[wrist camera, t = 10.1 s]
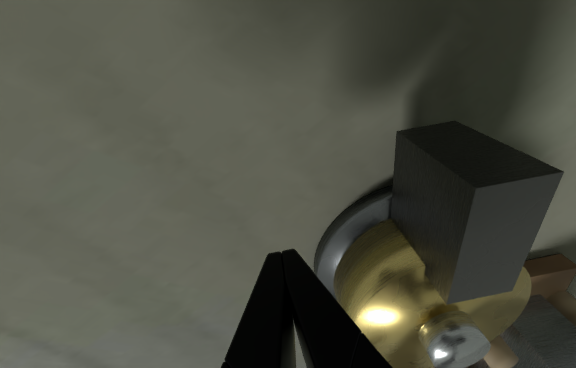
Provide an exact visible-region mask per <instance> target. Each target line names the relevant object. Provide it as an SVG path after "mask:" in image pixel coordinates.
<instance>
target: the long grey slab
mask: <svg viewBox="0 0 576 368" xmlns="http://www.w3.org/2000/svg"><path fill="white" fill-rule="evenodd" d="M500 336H501V337H502V339H503V340H504V341H505V342H506V343H507V345H508V346H509V347H510V348H511V350H512V351H513V352H514V353H515V355H516V356H517V357H518V358H519V361H518V362H517V364H515V365H514V366H513V367H511V368H576V327H575V326H574V325H573V324H572V323H571V322H570V321H569V320H568V319H567V318H566V317H565V316H563V315H562V314H561V313H560V312H559V311H558V310H557V309H556V308H555V307H554V306H553V305H552V304H550V303H549V302H548V301H547V300H546V299H545V298H544V297H543V296H542V295H541V294H538V295H533V296H530V297H529V300H528V302H527V304H526V306H525V308H524V310H523V311H522V313H521V314H520V315H519V317H518V318H517V319H516V320H515V321H514V322H513V323H512V324H511V325H510V326H509V327H508V328H507V329H506V330H505V331H504V332H503V333H501V334H500ZM469 368H490V367H489V365H488V364H487V362H486V361H485V360H484V358H482V359H481V360H479V361H478V362H476V363H474V364H472V365H470V366H469Z"/></svg>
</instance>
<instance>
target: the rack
mask: <svg viewBox="0 0 576 368" xmlns="http://www.w3.org/2000/svg"><path fill="white" fill-rule="evenodd" d="M523 267H524V268H525V269H526V270H527V272H528V273H529V275H530V278H531V288H532V289H531V294H530V296H533V295H538V294H541V295H542V296H543V297H544V298H545V299H546V300H547V301H548V302H549V303H550V304H552V305H553V306H554V307H555V308H556V309H557V310H558V311H559V312H560V313H561V314H562V315H563V316H565V317H566V318H567V319H568V320H569V321H570V322H571V323H572V324H573V325H574V326H575V327H576V299H575V298H574V297H573V296H572V295H570V294H569V293H568V292H567V291H566V290H567V288H568V286H569V285H570V283H571V281H572V279H573V278H574V276H575V274H576V264H574V263H573V262H572V261H570V260H569V259H568V258H566V257H565V256H563V255H562V254H557V255H552V256H547V257H542V258H537V259H532V260H527V261H525V263H524V265H523ZM490 345H491V347H490V350H489V352H488V353H487V354H486V355H485V356H484V357H483V358H484V360H485V361H486V362H487V364H488V365H489V367H490V368H511V367H513V366H514V365H515V364H517V362H518V361H519V358H518V357H517V356H516V355H515V353H514V352H513V351H512V350H511V348H510V347H509V346H508V345H507V343H506V342H505V341H504V340H503V339H502V337H501V336H500V335H499V336H498V337H496V338H495V339H494V340H492V341H491V342H490ZM465 368H469V366H468V367H465Z"/></svg>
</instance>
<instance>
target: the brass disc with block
mask: <svg viewBox="0 0 576 368" xmlns="http://www.w3.org/2000/svg"><path fill="white" fill-rule="evenodd" d="M563 173H564V172H563V171H561V170H559V169H557V168H555V167H553V166H550V165H548V164H546V163H544V162H542V161H540V160H538V159H536V158H533V157H531V156H529V155H527V154H525V153H523V152H521V151H518V150H516V149H514V148H512V147H510V146H508V145H506V144H503V143H501V142H499V141H497V140H495V139H493V138H491V137H489V136H486V135H484V134H482V133H480V132H478V131H476V130H474V129H471V128H469V127H467V126H465V125H463V124H461V123H459V122H456V121H451V122H446V123H440V124H435V125H429V126H424V127H418V128H412V129H407V130H401V131H397V134H396V148H395V162H394V177H393V191H392V205H391V218H390V219H388V220H386V221H384V222H382V223H380V224H378V225H377V226H375V227H373V228H372V229H370V230H369V231H367V232H366V233H364V234H363V235H362V236H361V237H360V238H358V239H357V240H356V241H355V242H354V243H353V244H352V245H351V246H350V247H349V248H348V250H347V251H346V252H345V254H344V255H343V256H342V258H341V260H340V262H339V263H338V266H337V268H336V271H335V275H334V281H333V287H334V292H335V296H336V299H337V301H338V303H339V304H340V305H341V306H342V308H343V309H344V310H345V311H346V313H347V314H348V315H349V316H350V317H351V319H352V320H353V321H354V322H355V324H356V325H357V326H358V327H359V328H360V330H361V331H362V333H364V334H365V336H366V337H367V338H368V339H369V341H370V342H371V343H372V344H373V345H374V347H375V348H376V349H377V350H378V351H379V352H380V354H381V355H382V356H383V357H384V358H385V359H386V360H387V362H388V363H389V364H390V365H391V366H392V367H393V368H431V367H435V366H434V365H433V363H432V361H431V359H430V357H429V355H428V354H427V352H426V350H425V348H424V346H423V344H422V343H421V341H420V339H419V336H418V333H419V330H420V329H421V327H422V326H423V325H424V324H425V323H426V322H427V321H428V320H430V319H431V318H433V317H435V316H437V315H439V314H442V313H445V312H449V311H463V312H466V313H467V314H468V315H469V316H470V317H471V318H472V320H473V321H474V322H475V324H476V325H477V326H478V328H479V329H480V330H481V332H482V333H483V334H484V336H485V337H486V338H487V340H488V341H489V342H491V341H492V340H494V339H495V338H496V337H498V336H499V335H500V334H501V333H503V332H504V331H505V330H506V329H507V328H508V327H509V326H510V325H511V324H512V323H513V322H514V321H515V320H516V319H517V318H518V317H519V315H520V314H521V313H522V311H523V310H524V308H525V306H526V304H527V302H528V300H529V297H530V294H531V289H532V288H531V278H530V275H529V273H528V272H527V270H526V269H525V268H524V267H523V265H524V263H525V261H526V258H527V256H528V254H529V251H530V249H531V247H532V244H533V242H534V240H535V237H536V235H537V233H538V231H539V228H540V226H541V224H542V221H543V219H544V217H545V214H546V212H547V210H548V207H549V205H550V203H551V201H552V198H553V196H554V194H555V191H556V189H557V187H558V184H559V182H560V180H561V177H562V175H563Z"/></svg>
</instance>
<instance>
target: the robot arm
mask: <svg viewBox="0 0 576 368" xmlns="http://www.w3.org/2000/svg"><path fill="white" fill-rule="evenodd" d="M293 320H294V322H293ZM294 324H295V328H296V332H297V335H298V339H299V342H300V346H301V349H302V353H303V356H304V360H305V363H306V366H307V368H393V367H392V366H391V365H390V364H389V363H388V362H387V360H386V359H385V358H384V357H383V356H382V355H381V354H380V352H379V351H378V350H377V349H376V348H375V347H374V345H373V344H372V343H371V342H370V341H369V339H368V338H367V337H366V336H365V334H364V333H362V331H361V330H360V328H359V327H358V326H357V325H356V324H355V322H354V321H353V320H352V319H351V317H350V316H349V315H348V314H347V313H346V311H345V310H344V309H343V308H342V306H341V305H340V304H339V303H338V301H337V300H336V299H335V298H334V297H333V295H332V294H331V293H330V292H329V290H328V289H327V288H326V287H325V286H324V284H323V283H322V282H321V281H320V279H319V278H318V277H317V276H316V274H315V273H314V272H313V271H312V270H311V268H310V267H309V266H308V265H307V263H306V262H305V261H304V260H303V259H302V257H301V256H300V255H299V254H298V252H297V251H296V250H295V249H289V250H284V251H282V254H281V252H274V253H269V254H268V255H267V257H266V259H265V262H264V264H263V267H262V269H261V271H260V274H259V276H258V279H257V281H256V284H255V286H254V289H253V291H252V293H251V296H250V298H249V301H248V303H247V306H246V308H245V310H244V313H243V315H242V318H241V320H240V323H239V325H238V328H237V330H236V332H235V335H234V337H233V340H232V342H231V345H230V347H229V349H228V352H227V354H226V357H225V362H223V364H222V366H221V368H296V355H295V334H294Z"/></svg>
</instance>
